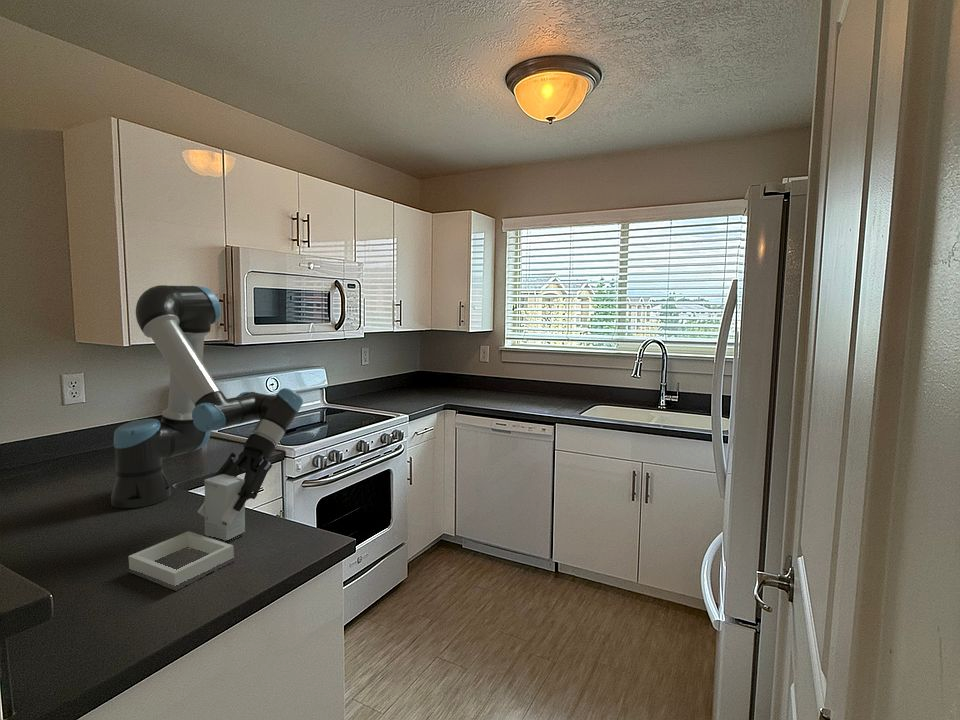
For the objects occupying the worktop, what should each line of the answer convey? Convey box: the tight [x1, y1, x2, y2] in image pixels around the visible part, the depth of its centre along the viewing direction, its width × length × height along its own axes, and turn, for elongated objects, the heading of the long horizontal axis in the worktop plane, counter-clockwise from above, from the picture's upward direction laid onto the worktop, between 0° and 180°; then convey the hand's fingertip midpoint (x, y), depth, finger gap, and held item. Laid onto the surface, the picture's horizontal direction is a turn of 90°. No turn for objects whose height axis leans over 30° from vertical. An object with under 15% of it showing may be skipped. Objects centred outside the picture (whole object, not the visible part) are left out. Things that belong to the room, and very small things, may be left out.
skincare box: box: [204, 474, 246, 540], centre depth 133 cm, size 8×6×15 cm
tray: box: [128, 530, 235, 586], centre depth 118 cm, size 16×14×4 cm
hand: (213, 518), depth 130 cm, fingers closed on skincare box, 8 cm apart
